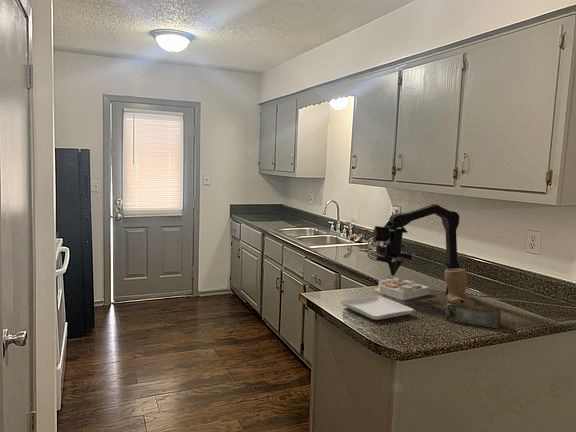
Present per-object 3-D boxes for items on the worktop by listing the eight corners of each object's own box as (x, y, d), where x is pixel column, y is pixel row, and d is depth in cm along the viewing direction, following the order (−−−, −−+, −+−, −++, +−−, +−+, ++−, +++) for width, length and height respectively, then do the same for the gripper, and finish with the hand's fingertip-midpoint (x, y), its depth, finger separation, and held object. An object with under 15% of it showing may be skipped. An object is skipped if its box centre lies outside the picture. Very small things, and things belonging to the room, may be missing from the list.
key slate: (421, 289, 212) (421, 285, 211) (415, 290, 209) (415, 286, 209) (413, 287, 215) (413, 283, 215) (407, 288, 212) (407, 284, 212)
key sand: (413, 291, 208) (413, 287, 208) (407, 292, 205) (407, 288, 205) (405, 288, 211) (405, 284, 211) (399, 289, 208) (399, 286, 208)
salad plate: (374, 324, 168) (375, 315, 167) (338, 308, 185) (339, 299, 185) (415, 317, 179) (415, 308, 179) (377, 302, 197) (378, 294, 196)
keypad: (429, 294, 214) (430, 285, 213) (402, 300, 201) (403, 290, 201) (400, 286, 227) (401, 277, 226) (373, 291, 214) (374, 281, 213)
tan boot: (440, 296, 212) (443, 264, 210) (467, 299, 209) (470, 267, 208) (445, 305, 197) (448, 271, 195) (474, 308, 195) (477, 274, 193)
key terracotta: (398, 288, 210) (398, 284, 210) (392, 289, 208) (392, 285, 207) (390, 286, 214) (391, 282, 214) (384, 287, 211) (385, 283, 211)
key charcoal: (406, 287, 214) (406, 283, 214) (400, 288, 211) (401, 284, 211) (398, 285, 218) (399, 281, 217) (393, 286, 215) (393, 282, 215)
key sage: (414, 285, 218) (414, 281, 218) (408, 286, 215) (408, 283, 215) (406, 283, 221) (406, 279, 221) (400, 284, 219) (401, 280, 218)
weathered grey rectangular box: (446, 315, 184) (447, 299, 183) (498, 323, 177) (500, 307, 176) (445, 320, 176) (446, 304, 176) (499, 330, 169) (501, 312, 169)
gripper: (394, 238, 221) (391, 269, 222) (368, 240, 209) (365, 273, 210) (413, 241, 212) (410, 274, 214) (387, 244, 200) (385, 279, 202)
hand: (392, 275), depth 210 cm, fingers closed
